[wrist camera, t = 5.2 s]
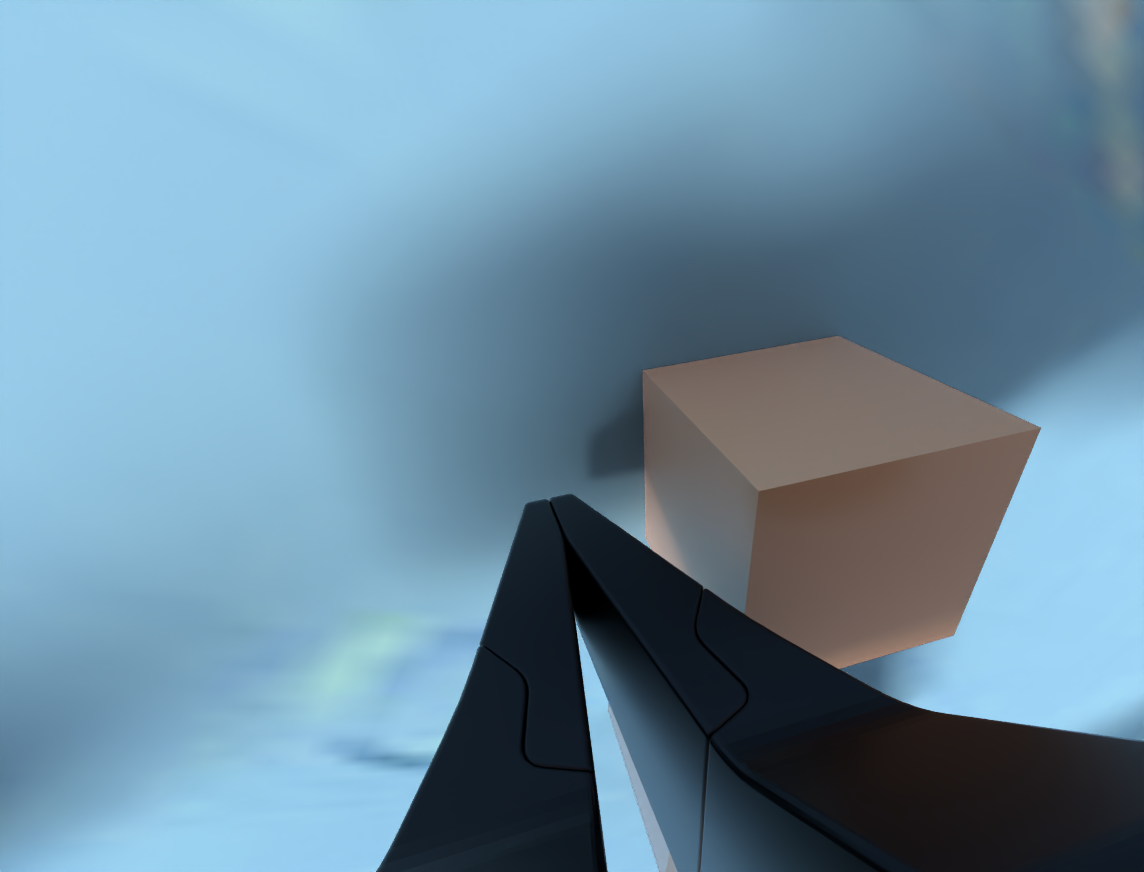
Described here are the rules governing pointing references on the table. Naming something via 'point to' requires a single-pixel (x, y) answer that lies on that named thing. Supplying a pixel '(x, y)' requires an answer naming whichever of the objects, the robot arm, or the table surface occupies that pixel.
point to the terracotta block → (828, 491)
